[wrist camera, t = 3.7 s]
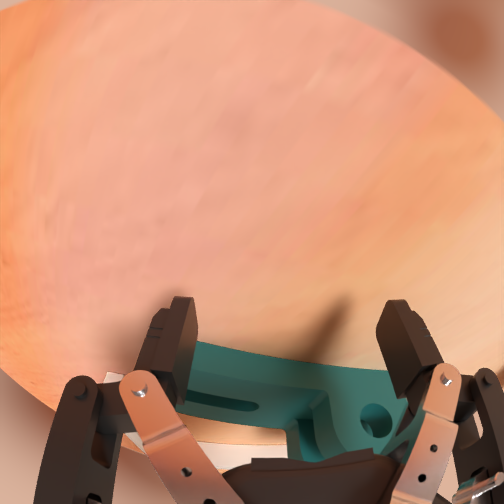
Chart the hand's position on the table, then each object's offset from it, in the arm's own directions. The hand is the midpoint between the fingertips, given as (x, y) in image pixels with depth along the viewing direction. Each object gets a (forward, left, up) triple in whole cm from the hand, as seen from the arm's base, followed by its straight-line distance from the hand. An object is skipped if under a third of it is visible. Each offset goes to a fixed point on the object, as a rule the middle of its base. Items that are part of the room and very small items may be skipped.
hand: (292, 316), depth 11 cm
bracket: (0, +10, -3) cm, 10 cm away
